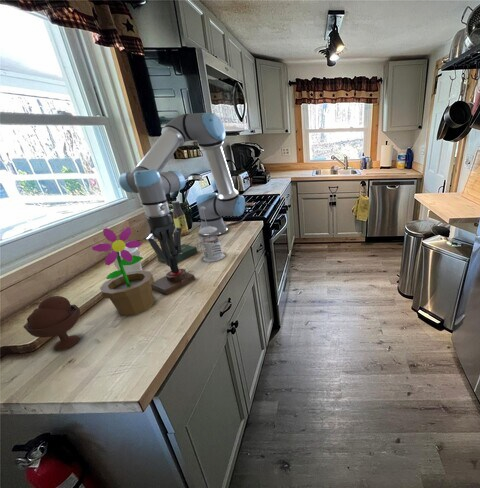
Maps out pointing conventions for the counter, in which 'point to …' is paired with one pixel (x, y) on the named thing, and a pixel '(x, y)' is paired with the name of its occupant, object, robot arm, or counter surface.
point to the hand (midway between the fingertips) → (175, 271)
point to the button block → (172, 282)
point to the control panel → (183, 252)
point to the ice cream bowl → (54, 321)
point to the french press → (216, 247)
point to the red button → (175, 273)
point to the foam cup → (132, 267)
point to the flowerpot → (125, 276)
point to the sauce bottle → (179, 218)
